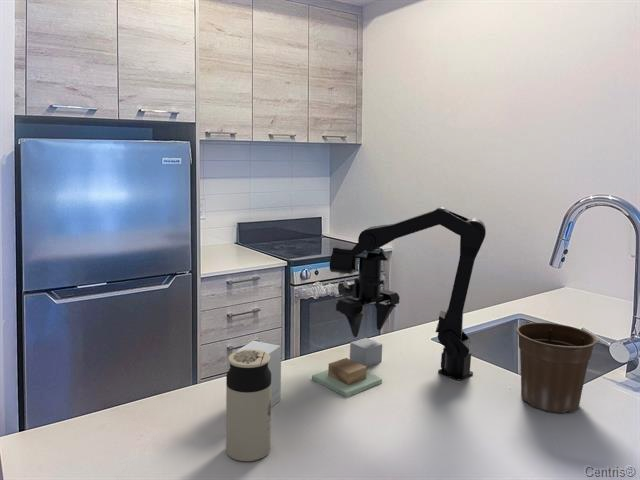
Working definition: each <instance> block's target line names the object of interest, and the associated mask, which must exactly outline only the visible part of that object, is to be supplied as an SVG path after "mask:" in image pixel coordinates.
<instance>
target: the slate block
mask: <svg viewBox="0 0 640 480" xmlns="http://www.w3.org/2000/svg"><path fill="white" fill-rule="evenodd" d="M349 344H350V345H349V359H350V360H352V361H354V362H357V363H359V364H361V365H364V366H366V367H369V366H373V365H376V364H378V363H381V362H382V360H383V343H381V342H378V341H376V340H373V339H370V338H369V337H365V338H361V339H357V340H354V341H351V342H350V343H349Z"/></svg>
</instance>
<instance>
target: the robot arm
mask: <svg viewBox="0 0 640 480" xmlns="http://www.w3.org/2000/svg"><path fill="white" fill-rule="evenodd" d="M439 225H440V226H441V227H444V228H446V230H449V231H451V232H452V233H454V234H455V235H457V236H460V238H459V239H460V240H459V259H458V262H457V263H458V264H457V268H456V272H455V276H454V281H453V286H452V291H451V294H450V299H449V304H448V307H447V309H446V310H445V311H444V310H440V312H439V315H438V323H437V326H436V329H435V333H437V340H438V342H439V343H440V344H441V345H442V346H443V349H442V352H441V358H440V369H438V373H439V374H441V375H444V376H446V377H449V378H452V379H454V380H457V381H461V380H463V379H466V378H468V377H470V376H473V375H474V372H473V371H472V370H471V360H472V352H471V351H470V343H471V338H470V337H469V336H468V335H467V333H466V332H465V331H464V330H463V324H464V323H463V322H464V308H465V304H466V300H467V299H466V298H467V294H468V290H469V286H470V281H471V276H472V274H473V268H474V264H475V261H476V258H477V256H478V253H479V251H480V249H481V248H482V246H483V243H484V240H485V238H486V230H487V229H486V225H485V223H484V222H483V221H482V220H481V219H478V218H475V217H472V218H468V217H465V216H463V215H461V214H458V213H455V212H453V211H451V210H449V209H448V208H446V207H445V206H443V207H442V206H439V207H437V208H436V209H434V210H431V211H427V212H425V213H422V214H418V215H416V216H413V217H410V218H407V219H404V220H400V221H399V222H395V223H390V224H383V225H382V224H381V225H380V224H379V225H375V226H370V227H367V228H366V229H363V231H361V232H360V233H359V236H358V240H357V241H358V242H357V243H356V244H355V245H354V246H353V247H352V248H350V247H349V248H348V247H347V248H346V247H342V246H334V247H333V248H332V253H331V256H330V260H329V270H330V272H331V273H336V274H337V273H338V274H347V275H353V274H354V272H355V271H358V277H357V278H355V279H354V283H351V284H349V283H348V281H344V282H339V283H338V284H337V285H338V286H337V292H338V295H339V296H341V295H342V297H343V298H340V299H338V300H337V301H336V302H335V311H337V312H339V313H340V314H342V315H344V316H345V317H346V319H347V321H348V325H349V327H350V331H351V334H352V337H354V338H357V337H358V335H359V332H360V330H361V329H360V328H361V325H362V321H363V315H364V314H363V313H362V311H363V309H364V307H367V306H371V305H374V307H375V309H376V329H377V330H379V331H382V329H383V327H384V325H385V323H386V322H387V320H388V318H389V316H390V314H391V313H392V311H393V310H394V309H395V308H396V307H397V305H398V304H400V295H399V293H398V292H396V291H393V290H392V291H391V290H388V289H381V285H384V284H385V280H384V279H382V275H381V274H382V261H384V262H386V261H388V259H390V255H389V254H387V253H386V252H385V250H384V249H382V250H381V251H380V252H374V251H376V250H378V249H380V248H381V247H383V246H386V245H387V244H389V243H390V242H392V241H394V240H396V239H398V238H403V237H405V236H408V235H412V234H416V233H417V232H421V231H424V230H427V229H430V228H433V227H436V226H439ZM364 252H367V254H362V253H364ZM350 297H352V298H350Z"/></svg>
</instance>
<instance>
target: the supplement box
mask: <svg viewBox="0 0 640 480" xmlns="http://www.w3.org/2000/svg"><path fill="white" fill-rule="evenodd" d="M241 350H260V351H263V352H266V353H268V354H269V356H270V361H269V362H268V368H269V370H270V372H271V408H272V407H274V406H275V405H277V403H278V402H279V401H280V400H282V399H281V398H282V397H281V396H282V390H281V389H282V385H281V384H282V345H279V344H272V343H268V342H263V341H257V340H252V341H250V342H249V343H247V344H246V345H244V346H242V347H240V348H239V349H237V350H235V352H237V351H241Z"/></svg>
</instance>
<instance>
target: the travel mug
mask: <svg viewBox="0 0 640 480" xmlns="http://www.w3.org/2000/svg"><path fill="white" fill-rule="evenodd" d="M236 351H237V350H236ZM236 351H234V352H232V353H230V354H229V355H228V357H227V362H228V363H229V367H230V368H229V369H228V370H227V373H226V380H225V381H226V384H225V386H226V394H225V395H226V400H225V401H226V403H225V404H226V407H225V408H226V410H225V411H226V412H225V413H226V416H225V417H226V420H225V422H226V425H225V426H226V428H225V431H226V432H225V433H226V435H225V436H226V439H225V440H226V441H225V443H226V449H225V450H226V453H227V455H228V456H229V458H230V459H231V458H232V459H234V460H237V461H240V462H252V461H253V462H254V461H258V460H260V459H262V458H264V457H266V456H267V455H268V454H269V453H270V451H271V435H272V434H271V432H272V431H271V430H272V429H271V427H272V425H271V423H272V422H271V421H272V418H271V417H272V407H271V372H270V370H269V368H268V362H269V361H270V356H269V354H268V353H266V352H263V351H260V350H241V351H237V352H236Z"/></svg>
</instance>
